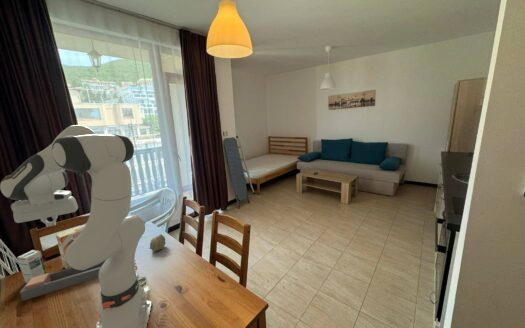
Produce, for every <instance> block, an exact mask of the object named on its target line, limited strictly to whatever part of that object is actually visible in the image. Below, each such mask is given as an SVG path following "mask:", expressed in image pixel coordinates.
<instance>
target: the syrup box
mask: <svg viewBox="0 0 525 328" xmlns="http://www.w3.org/2000/svg"><path fill="white" fill-rule="evenodd" d="M17 260H18V264H19V267H20V270H21V273H22V277H23V279H24V282H25V284H26V283H27V282H28V281H29V279H31V278H33V277H36V276H40V275H43V274H47V273H48V272H47V270H46V267H45V262H44V258H43V256H42V252H41V251H40V250H37V249H36V250H35V249H32V250H30V251H28V252H26V253H23V254H21V255H19V256H17Z"/></svg>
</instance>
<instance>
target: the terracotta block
mask: <svg viewBox="0 0 525 328" xmlns="http://www.w3.org/2000/svg"><path fill="white" fill-rule="evenodd" d="M49 282H51V278H50V273H49V272H47V274H43V275H40V276H36V277H33V278H31V279H30V281H29V282H28V283H27V285H26V284H25V285H26V286H25V285H24V286H25V287H26V289H28V288H32V287H35V286H38V285H42V284H45V283H49Z"/></svg>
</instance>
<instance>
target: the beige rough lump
mask: <svg viewBox="0 0 525 328" xmlns="http://www.w3.org/2000/svg"><path fill="white" fill-rule="evenodd" d="M166 243H167V242H166V237H165V236H164V235H163V234H159V235H157V236H154V237H152V239H151V240H150V243H149V249H150V250H151V251H152V252H155V251H156V252H158V251H161V250H162V249H163V248H164V247H165V245H166ZM160 249H161V250H160Z"/></svg>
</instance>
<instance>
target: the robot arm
mask: <svg viewBox="0 0 525 328" xmlns="http://www.w3.org/2000/svg"><path fill="white" fill-rule="evenodd" d="M134 153H135V146H134V144H133V142H132V141H131V140H130V138H128V137H127V136H125V135H122V134H117V133H116V134H97V133H96V132H95V131H94V130H93V129H91V128H90V127H87V126H86V125H81V124H76V125H75V124H73V125H69V126H68V127H66V128H65V129H63V130H62V131H61V132H60V133H59V134H58V135H57V136H56V137H55V139H54V140H53V141H52V142H51V144H49V145H48V146H47V147H46V148H44V149H43V150H41V151H39V152H37V153H36V154H33V155H31V156H30V157H28V158H27V159H26V160H25V161H23V162H22V163H21V164H20V165H19V166H18V167H17V168H16V169H15V170H14V171H13V172H12V173H11V174H8V175H6V176H5V177H4V178H2V180H0V191H1V194H2V195H3V196H4V197H5V198H7V199H9V200H14V202H13V203H11V204H10V208H11V211H12V212H13V219H14V223H17V224H20V223H25V222H31V221H35V220H36V221H37V220H40V222H42V223H43V224H45V227H46V228H49V227H53V226H56V225H57V219H58V217H59V216H62V215H66V214H71V213H76V211H78V209H79V205H78V203H77V200H76V198H75V197H74V196H72V194H73V193H72V191H71V190H64V188H66V187H67V186H68V184H69V177H68V174H67V172H66V171H69V172H74V173H75V174H76V175H77V176H83V175H85V174H86V172H87V173H88V174H89V176H90V178H91V190H90V191H91V193H90V197H91V198H90V211H89V212H90V213H89V216H88V219H87V221H86V223H85V224H86V225H85V227H84V228H83V230H82V231H81V233H80V234H79V236H78V237H77V238H76V239H75V240H74V241H73V242H72V243H71V244H70V245H69V246H68V247H67V250H66V253H65V258H66V261H67V263H68V265H69V266H70V267H72V268H74V269H76V270H85V269H88V268H90V267H93V266H95V265H97V264H100V263H101V262H103V261H105V260H106V261H105V262H104V264H103V265H102V266H101V268H100V270H99V274H98V277H97V278H98V281H99V285H100V303H99V304H98V305H99V306H98V307H99V309H100V318H99V319H98V321H97V322H96V324H95V328H146V326H147V322H148V323H149V321H148V318H149V319H150V317H149V315H150V316H151V312H150V310H151V311H152V308H151V306H153V302H152V300H148V299H147V297H146V291H145V288H144V287H142V286H140V284H139V282H140V281H139V279H138V276H137V275H136V274H137V273H136V269H135V255H136V251H137V248H138V245H139V242H140V240H141V239H142V236H143V235H144V234H145V231H146V225H145V221H144V220H143V219H142V218H141V217H140V216H139V215H136V214H130V215H129V213H130V212H131V205H132V203H131V201H132V191H133V190H132V186H133V185H132V175H131V169H130V168H129V166H128V165H127V164H126V163H125V162H128V161H130V160H132V158H133V156H134ZM62 189H63V190H62ZM48 218H51V219H52V220H51V221H49V220H48ZM147 306H149V307H147ZM144 322H145V323H144ZM147 327H148V326H147Z"/></svg>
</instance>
